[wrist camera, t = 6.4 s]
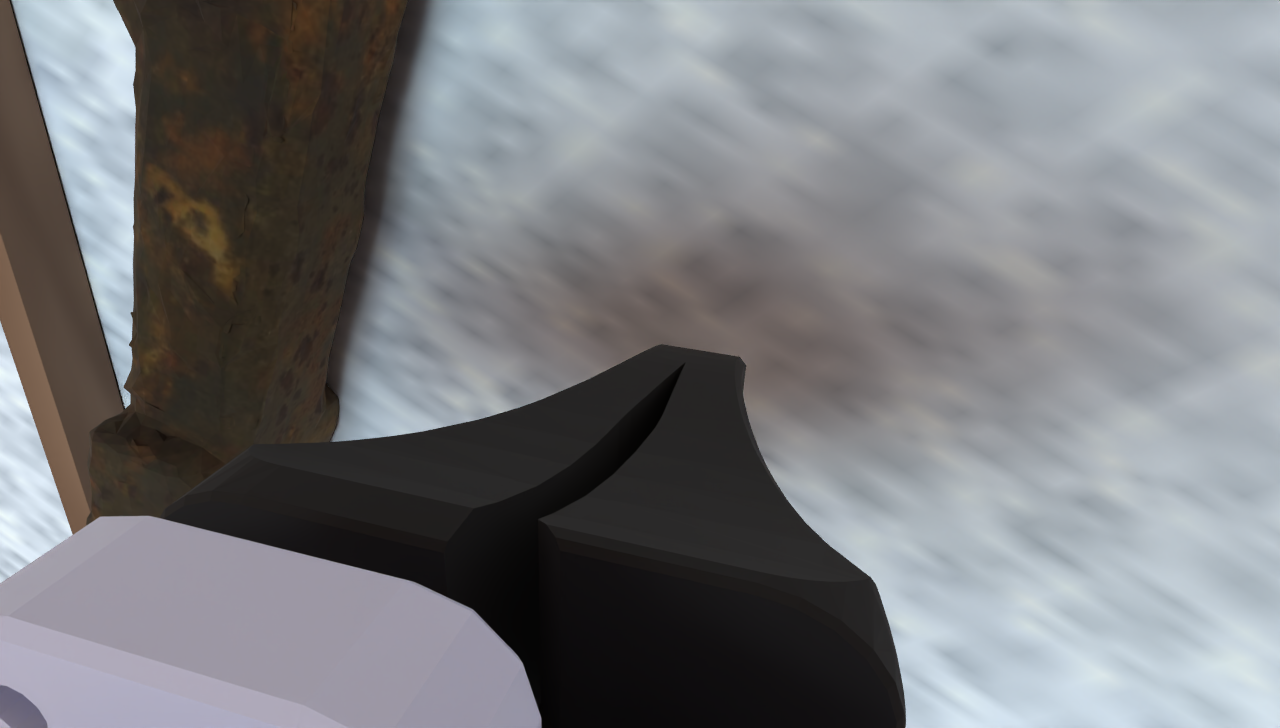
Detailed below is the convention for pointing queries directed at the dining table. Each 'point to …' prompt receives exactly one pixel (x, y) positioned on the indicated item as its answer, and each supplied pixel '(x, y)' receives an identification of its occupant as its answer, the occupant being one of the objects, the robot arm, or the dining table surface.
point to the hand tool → (239, 230)
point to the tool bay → (47, 289)
